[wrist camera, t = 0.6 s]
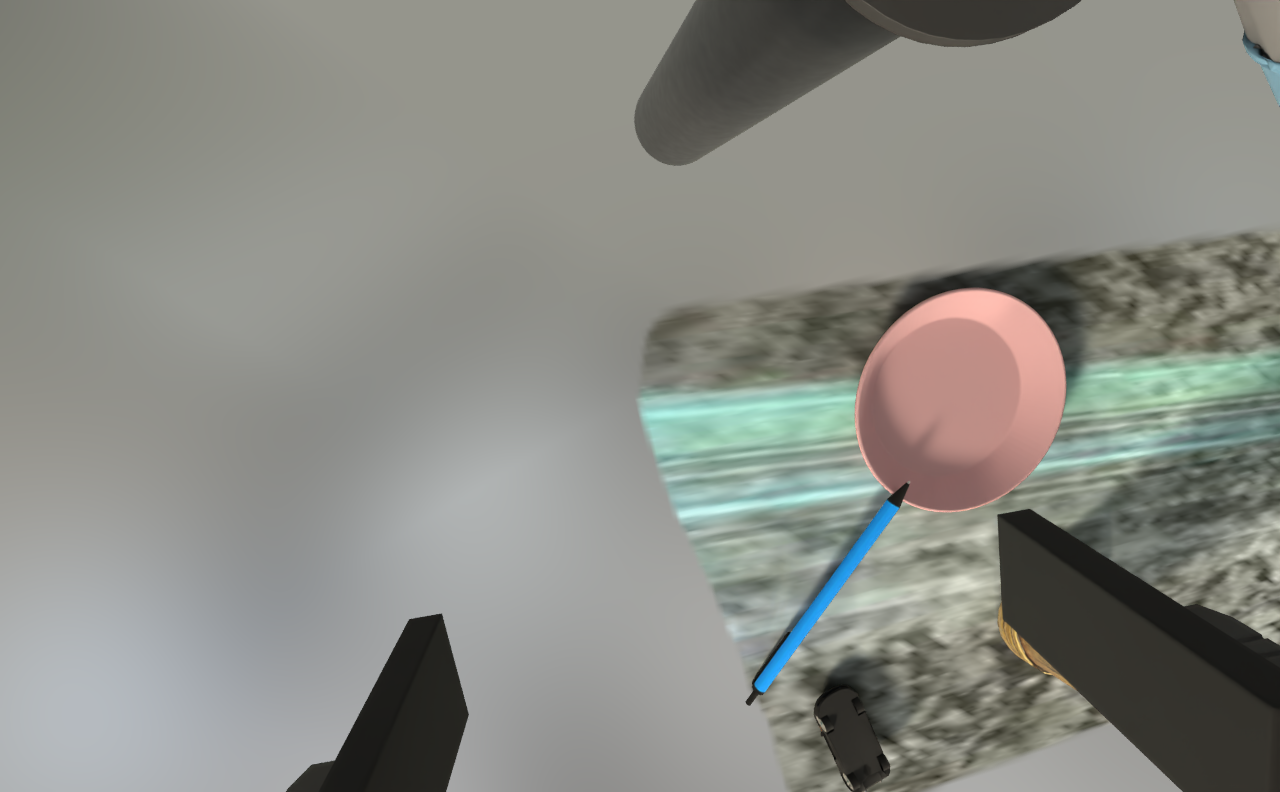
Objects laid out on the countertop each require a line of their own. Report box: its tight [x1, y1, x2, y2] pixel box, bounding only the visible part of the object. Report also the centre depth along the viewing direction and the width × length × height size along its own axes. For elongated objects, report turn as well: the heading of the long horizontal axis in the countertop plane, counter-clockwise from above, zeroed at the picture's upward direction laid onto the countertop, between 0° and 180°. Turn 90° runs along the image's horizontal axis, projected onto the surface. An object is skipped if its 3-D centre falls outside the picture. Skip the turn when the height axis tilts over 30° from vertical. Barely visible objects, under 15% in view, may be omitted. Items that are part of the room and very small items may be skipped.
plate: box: [855, 288, 1066, 512], centre depth 43 cm, size 14×14×2 cm
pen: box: [746, 481, 910, 706], centre depth 44 cm, size 1×19×1 cm, turn 152°
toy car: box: [814, 685, 890, 792], centre depth 47 cm, size 8×3×2 cm, turn 24°
